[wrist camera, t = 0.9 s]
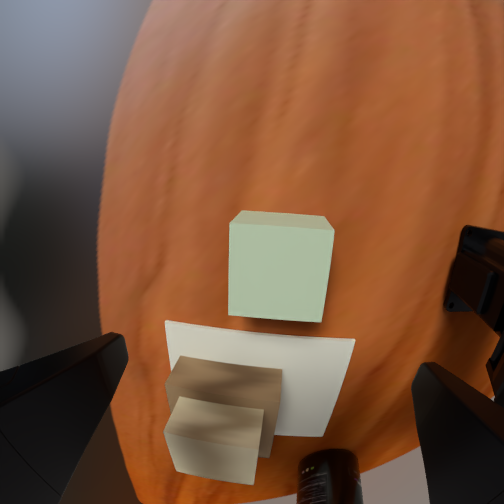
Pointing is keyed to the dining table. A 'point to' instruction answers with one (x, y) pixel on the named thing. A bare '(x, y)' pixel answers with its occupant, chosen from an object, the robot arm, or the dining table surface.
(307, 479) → the supplement bottle
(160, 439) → the dining table surface
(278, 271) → the sage block
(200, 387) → the walnut slab
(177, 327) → the grey mat
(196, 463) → the birch block
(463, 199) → the dining table surface
